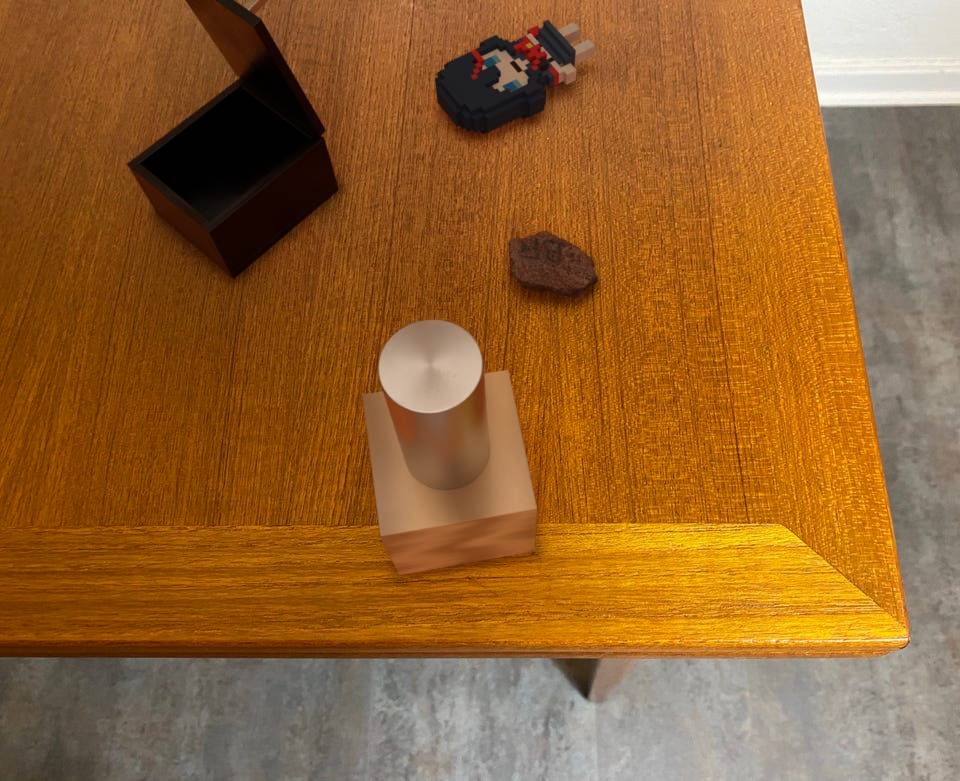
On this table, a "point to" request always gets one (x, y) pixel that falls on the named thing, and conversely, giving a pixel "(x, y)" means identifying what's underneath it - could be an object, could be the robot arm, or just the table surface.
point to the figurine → (509, 77)
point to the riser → (454, 493)
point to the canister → (437, 401)
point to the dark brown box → (236, 176)
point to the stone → (551, 265)
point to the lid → (255, 55)
